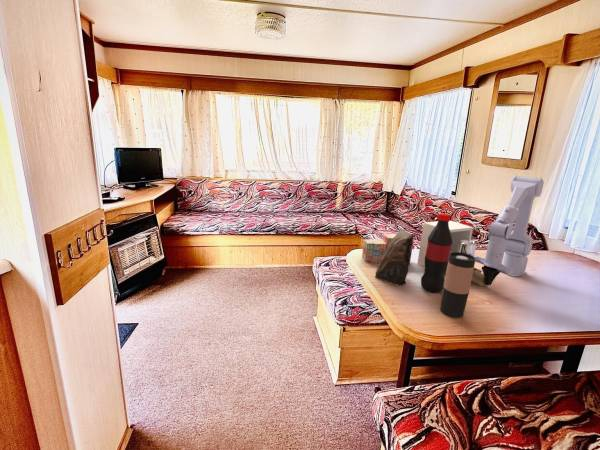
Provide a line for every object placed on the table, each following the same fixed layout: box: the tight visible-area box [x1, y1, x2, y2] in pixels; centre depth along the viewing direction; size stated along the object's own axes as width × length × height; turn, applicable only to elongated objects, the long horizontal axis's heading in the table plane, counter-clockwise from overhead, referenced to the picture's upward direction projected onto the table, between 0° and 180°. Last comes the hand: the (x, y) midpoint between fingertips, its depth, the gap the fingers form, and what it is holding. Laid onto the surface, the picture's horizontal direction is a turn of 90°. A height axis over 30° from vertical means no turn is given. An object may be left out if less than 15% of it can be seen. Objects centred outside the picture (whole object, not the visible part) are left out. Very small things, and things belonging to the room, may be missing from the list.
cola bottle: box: [420, 212, 453, 294], centre depth 119 cm, size 8×8×30 cm
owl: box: [374, 228, 415, 286], centre depth 128 cm, size 13×13×20 cm
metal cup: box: [456, 240, 477, 257], centre depth 135 cm, size 7×7×15 cm
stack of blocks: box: [361, 233, 415, 263], centre depth 149 cm, size 21×6×12 cm, turn 93°
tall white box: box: [417, 220, 474, 268], centre depth 144 cm, size 16×12×20 cm
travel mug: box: [439, 252, 476, 319], centre depth 104 cm, size 8×8×20 cm
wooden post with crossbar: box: [444, 267, 486, 286], centre depth 135 cm, size 12×18×4 cm, turn 25°
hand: (487, 284), depth 126 cm, fingers closed
